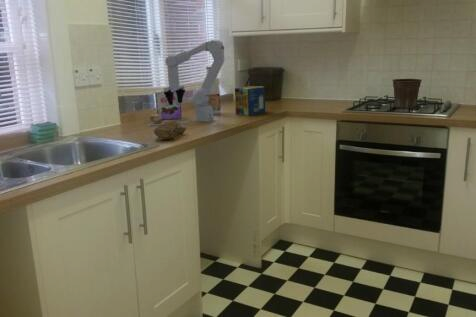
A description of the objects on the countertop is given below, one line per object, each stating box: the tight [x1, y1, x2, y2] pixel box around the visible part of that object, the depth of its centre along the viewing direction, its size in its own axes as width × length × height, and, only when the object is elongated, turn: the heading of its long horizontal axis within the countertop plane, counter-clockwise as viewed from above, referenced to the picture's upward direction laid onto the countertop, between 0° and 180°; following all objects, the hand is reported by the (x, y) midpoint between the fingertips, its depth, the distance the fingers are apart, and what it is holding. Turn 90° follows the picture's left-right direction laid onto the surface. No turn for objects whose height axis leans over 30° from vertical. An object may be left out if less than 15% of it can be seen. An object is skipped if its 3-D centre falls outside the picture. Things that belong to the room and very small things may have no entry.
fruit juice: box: [203, 66, 221, 116], centre depth 268 cm, size 9×9×28 cm
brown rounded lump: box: [153, 121, 187, 141], centre depth 204 cm, size 13×8×20 cm
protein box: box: [234, 85, 266, 117], centre depth 264 cm, size 10×15×16 cm
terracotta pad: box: [162, 119, 173, 123], centre depth 244 cm, size 6×6×1 cm
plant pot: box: [391, 78, 423, 110], centre depth 262 cm, size 16×16×16 cm
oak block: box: [149, 114, 163, 124], centre depth 237 cm, size 4×4×4 cm
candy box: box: [154, 90, 183, 120], centre depth 255 cm, size 14×6×16 cm, turn 105°
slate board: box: [145, 120, 191, 127], centre depth 238 cm, size 16×18×1 cm
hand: (175, 103), depth 245 cm, fingers open, 7 cm apart
